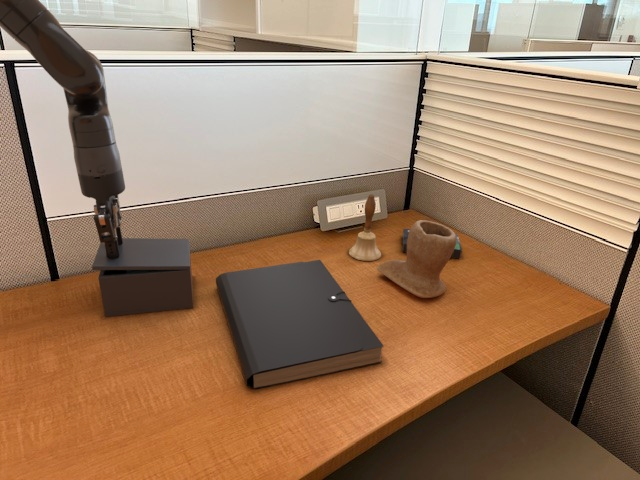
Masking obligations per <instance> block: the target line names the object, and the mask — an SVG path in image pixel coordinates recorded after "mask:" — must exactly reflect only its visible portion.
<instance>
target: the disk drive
mask: <svg viewBox="0 0 640 480" xmlns="http://www.w3.org/2000/svg"><path fill="white" fill-rule="evenodd" d="M402 231H403V232H402V252H403V253H406V254H407V240H408V234H409V231H410V228H403V230H402ZM455 235H456V246H455V249H454V251H453V253H452V255H451V257H450V258H453V259H455V258H456V259H461V257H462V251H463V250H462V249H463V248H462V245H461V244H462V243H461V241H460V238H459V234H455Z"/></svg>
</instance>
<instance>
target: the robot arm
mask: <svg viewBox="0 0 640 480" xmlns="http://www.w3.org/2000/svg"><path fill="white" fill-rule="evenodd" d="M0 28H1V29H2V30H3V31H4V32H5V33H6V34H7V35H9V36H10V37H11V38H12V39H13V40H14V41H15V42H16V43H17V44H19V45H20V47H22V48H23V49H25V50H26V51H27V52H28V53H29V54H30V55H31V56H32V57H33V59H34V60H35V61H36V62H37V63H38V64H39V66H41V67H42V69H43V70H44V71H45V72H46V73H47V74H48V75H49V76H50V77H51V78H52V79H53V80H54V81H55V82H56V83H57V84H58V85H59V86H60V87H61V88H62V89H63V93H64V97H65V102H66V105H67V111H68V112H67V114H68V115H67V120H68V129H69V133H70V138H71V142H72V148H73V160H74V163H75V168H76V174H77V178H78V182H79V187H80V192H81V194H82V195H83V196H84V197H86V198H89V199H94V200H95V204H94V205H93V213H94V215H93V221H94V224H95V228H96V231H97V235H98V238H99V239H98V240H99V242H101V243H103V242H104V244H105V249H106V254H107V257H108V258H109V259H112V258H118V257H119V256H120V252H119V247H118V245H122V244H123V239H122V238H123V236H122V235H123V234H122V229H121V227H122V218H123V216H122V212H121V206H120V199H119V198H120V197H119V195H120V194H123V192H125V190H126V184H125V178H124V171H123V165H122V160H121V155H120V151H119V148H118V145H117V140H116V135H115V129H114V124H113V120H112V116H111V113H110V110H109V103H108V101H109V100H108V94H107V86H106V77H105V71H104V67H103V64H102V61H100V59H99V58H98V56H97V55H95V54H94V53H92V52H91V51H89V50H88V49H87V50H86V49H85V48H84V47H83V46H82V45H81V44H80V43H78V41H76V39H75V38H74V37H72V36H71V34H69V32H68V31H67V30H65V29H64V28H63V27H62V25H61V23H60V21H59V20H58V19H57V18H56V17H55V15H54V14H53V13H52V12H51V11H50V10H49V9H48V8H47V7H46V6H45V4H43V3H42V2H41V1H40V0H0ZM106 232H109V233H110V235H105V233H106Z"/></svg>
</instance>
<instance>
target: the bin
mask: <svg viewBox="0 0 640 480" xmlns="http://www.w3.org/2000/svg"><path fill="white" fill-rule="evenodd" d="M189 249H190V250H191V247H190V244H189ZM97 279H98V285H99V289H100V290H99V291H100V295H101V296H100V297H101V302H102V307H103V312H104V317H106V318H107V317H108V318H109V317H118V316H119V317H120V316H129V315H137V314H138V315H139V314H147V313H155V312H157V313H158V312H165V311H166V312H168V311H176V310H186V309H187V310H188V309H193V308H194V292H193V291H194V289H193V287H194V286H193V272H192V259H191V256H190V270H152V271H151V272H138V273H127V270H99V274H98V277H97Z"/></svg>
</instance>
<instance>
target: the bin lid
mask: <svg viewBox="0 0 640 480" xmlns="http://www.w3.org/2000/svg"><path fill="white" fill-rule="evenodd" d="M105 235H110V233H109V232H106V233H105ZM122 239H123V244H122V245H118V247H119V252H120V256H119V257H118V258H112V259H109V258H108V257H107V254H106V249H105V244H104V242H103V243H101V242H100V241H99V242H100V243H99V245H98V248H97V252H96V254H95V256H94V260H93V263H92V266H91V269H92V271H100V270H190V257H191V248H190V249H189V245H190V239H189V238H147V237H146V238H145V237H144V238H142V237H138V238H137V237H122Z"/></svg>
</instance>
